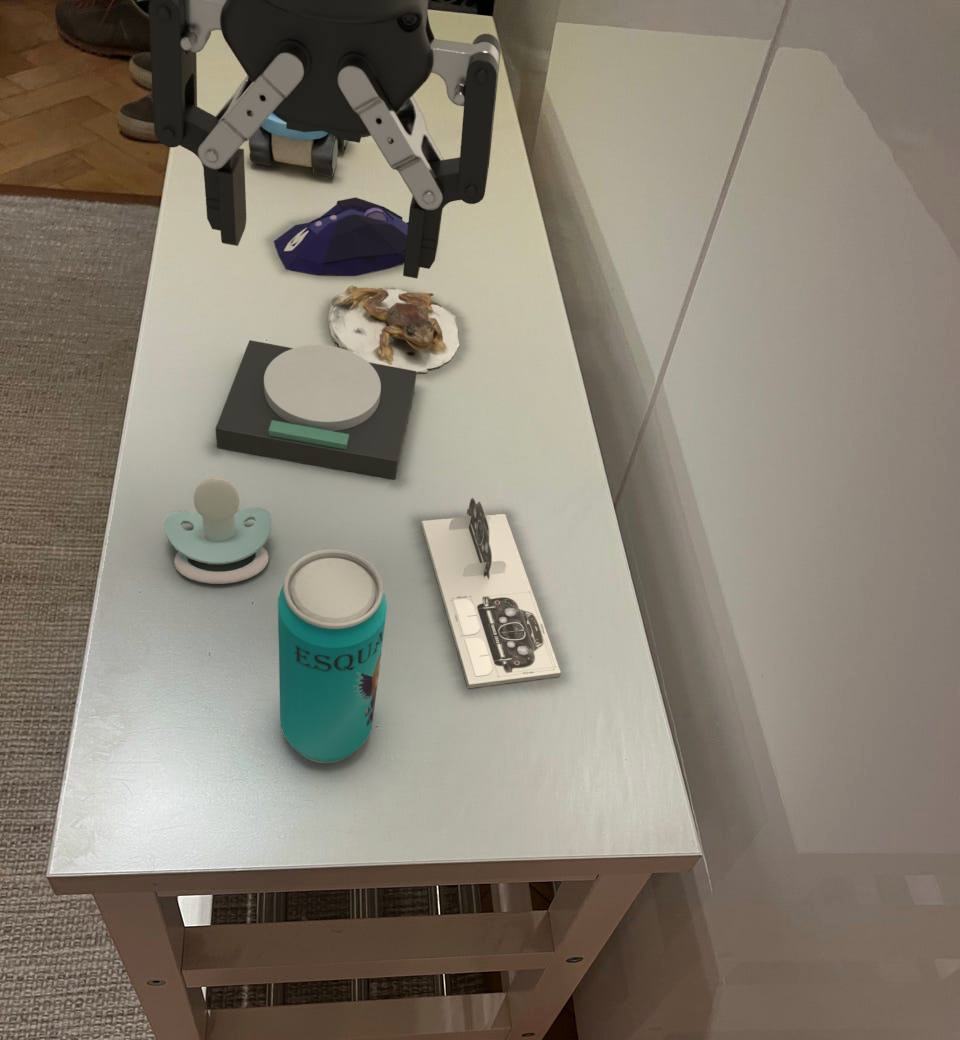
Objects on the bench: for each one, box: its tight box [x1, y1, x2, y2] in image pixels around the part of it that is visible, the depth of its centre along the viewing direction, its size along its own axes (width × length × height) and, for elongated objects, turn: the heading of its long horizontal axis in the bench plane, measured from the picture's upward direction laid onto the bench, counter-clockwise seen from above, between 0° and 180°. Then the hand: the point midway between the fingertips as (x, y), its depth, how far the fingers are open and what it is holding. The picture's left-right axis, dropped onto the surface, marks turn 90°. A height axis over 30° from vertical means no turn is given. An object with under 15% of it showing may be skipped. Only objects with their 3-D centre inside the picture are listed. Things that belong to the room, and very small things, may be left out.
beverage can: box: [277, 548, 388, 764], centre depth 58 cm, size 6×6×15 cm
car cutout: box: [420, 497, 562, 689], centre depth 70 cm, size 15×7×4 cm, turn 14°
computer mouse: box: [273, 197, 408, 277], centre depth 94 cm, size 9×15×4 cm, turn 111°
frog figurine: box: [327, 285, 461, 374], centre depth 87 cm, size 12×12×4 cm
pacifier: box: [163, 476, 273, 585], centre depth 68 cm, size 7×6×6 cm
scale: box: [215, 339, 418, 480], centre depth 79 cm, size 14×11×3 cm
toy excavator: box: [248, 113, 348, 178], centre depth 98 cm, size 9×17×17 cm, turn 174°
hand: (323, 252), depth 47 cm, fingers open, 8 cm apart
